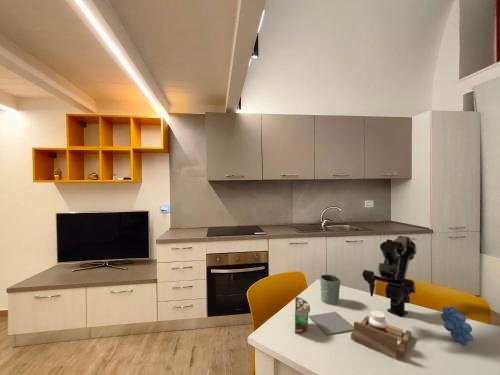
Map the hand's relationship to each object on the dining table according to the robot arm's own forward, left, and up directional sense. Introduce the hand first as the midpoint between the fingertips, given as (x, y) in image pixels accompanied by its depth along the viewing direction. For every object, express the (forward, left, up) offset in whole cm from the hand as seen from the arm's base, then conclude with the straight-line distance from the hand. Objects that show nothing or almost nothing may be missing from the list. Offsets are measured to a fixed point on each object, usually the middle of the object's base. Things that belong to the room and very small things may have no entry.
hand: (383, 299), depth 95 cm
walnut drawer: (+4, +1, -13) cm, 14 cm away
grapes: (-19, +16, -14) cm, 29 cm away
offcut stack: (-2, 0, -14) cm, 14 cm away
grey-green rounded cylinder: (-4, -30, -14) cm, 33 cm away
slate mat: (+12, -16, -13) cm, 24 cm away
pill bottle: (+8, +2, -14) cm, 16 cm away
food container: (+25, -20, -14) cm, 35 cm away
